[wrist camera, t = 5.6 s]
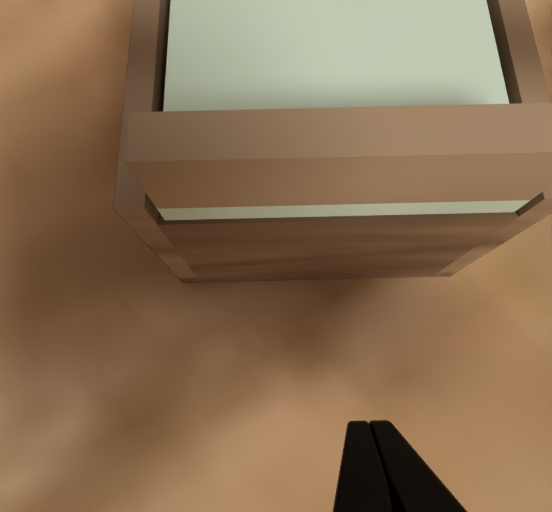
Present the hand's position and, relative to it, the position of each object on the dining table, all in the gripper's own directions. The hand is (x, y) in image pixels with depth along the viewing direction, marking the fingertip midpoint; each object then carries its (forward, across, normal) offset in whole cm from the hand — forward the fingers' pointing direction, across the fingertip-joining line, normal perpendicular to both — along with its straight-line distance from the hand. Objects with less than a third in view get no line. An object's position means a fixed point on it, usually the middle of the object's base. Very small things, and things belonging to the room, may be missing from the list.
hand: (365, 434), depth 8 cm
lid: (+8, 0, -6) cm, 10 cm away
